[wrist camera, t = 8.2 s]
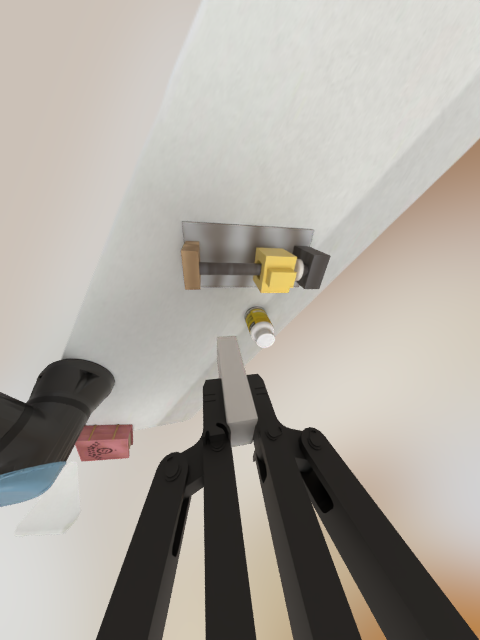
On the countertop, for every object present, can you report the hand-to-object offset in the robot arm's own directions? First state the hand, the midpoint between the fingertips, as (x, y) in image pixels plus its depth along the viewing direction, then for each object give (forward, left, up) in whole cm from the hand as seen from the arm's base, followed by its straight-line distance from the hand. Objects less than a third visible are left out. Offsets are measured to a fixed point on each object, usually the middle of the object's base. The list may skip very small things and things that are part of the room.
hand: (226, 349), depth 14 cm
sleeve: (+10, +1, -21) cm, 24 cm away
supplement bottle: (+10, -13, -26) cm, 31 cm away
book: (-37, -62, -26) cm, 77 cm away
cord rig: (+7, +1, -25) cm, 26 cm away
